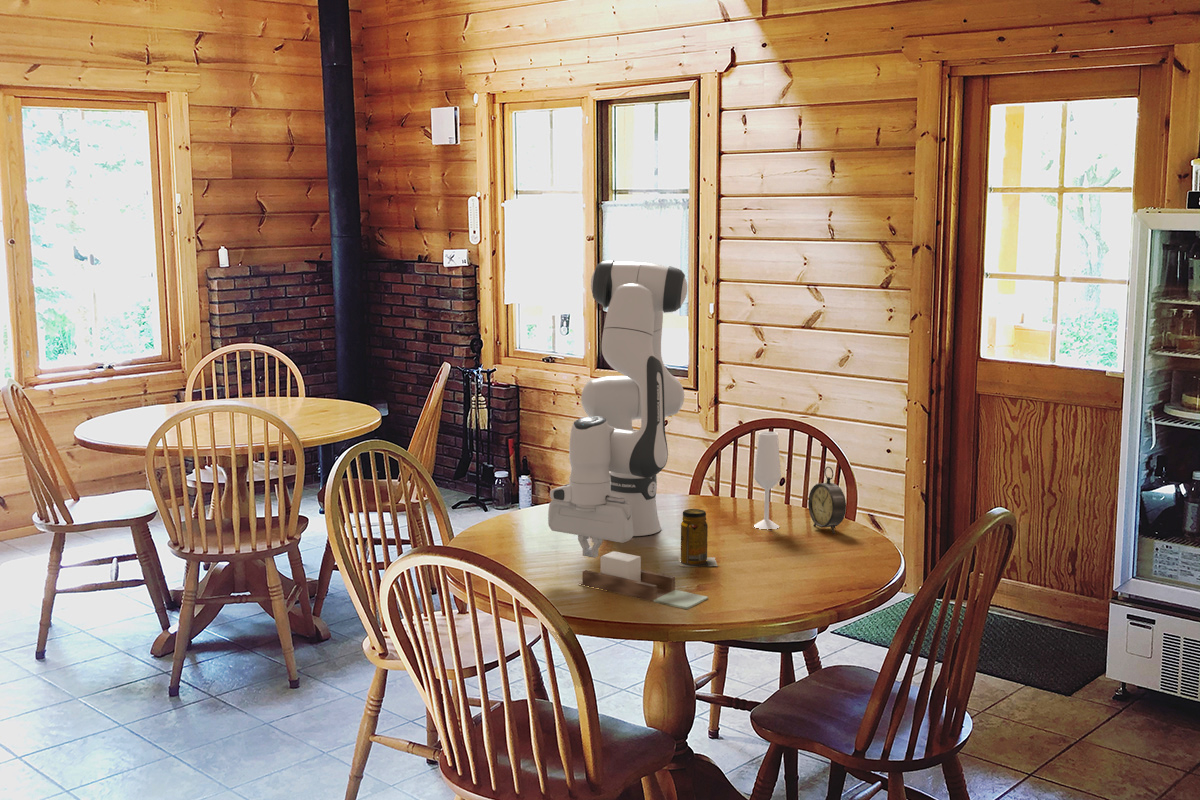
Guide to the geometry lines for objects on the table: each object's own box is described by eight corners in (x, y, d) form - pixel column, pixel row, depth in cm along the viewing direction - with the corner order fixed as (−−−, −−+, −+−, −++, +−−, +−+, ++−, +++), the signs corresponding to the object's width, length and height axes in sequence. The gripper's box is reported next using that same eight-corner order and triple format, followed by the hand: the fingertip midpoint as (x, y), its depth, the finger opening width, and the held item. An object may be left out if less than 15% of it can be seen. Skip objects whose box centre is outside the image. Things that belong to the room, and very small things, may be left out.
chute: (578, 585, 250) (578, 570, 250) (601, 575, 257) (601, 561, 257) (687, 609, 235) (687, 593, 234) (708, 598, 242) (708, 583, 241)
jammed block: (600, 583, 249) (600, 556, 248) (613, 578, 253) (613, 551, 252) (627, 589, 245) (627, 561, 244) (640, 583, 249) (640, 556, 248)
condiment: (678, 558, 271) (678, 507, 269) (715, 558, 271) (715, 507, 269) (680, 567, 263) (680, 515, 262) (717, 567, 263) (718, 515, 261)
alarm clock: (806, 525, 298) (807, 463, 296) (824, 523, 301) (826, 461, 298) (831, 536, 289) (832, 471, 286) (849, 534, 291) (851, 469, 288)
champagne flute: (749, 528, 296) (751, 434, 292) (756, 522, 302) (758, 430, 298) (776, 531, 293) (778, 436, 290) (782, 524, 300) (784, 432, 296)
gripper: (639, 496, 247) (639, 560, 249) (561, 485, 259) (561, 546, 261) (622, 501, 242) (622, 567, 244) (543, 490, 254) (544, 552, 256)
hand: (590, 556), depth 253 cm, fingers closed
